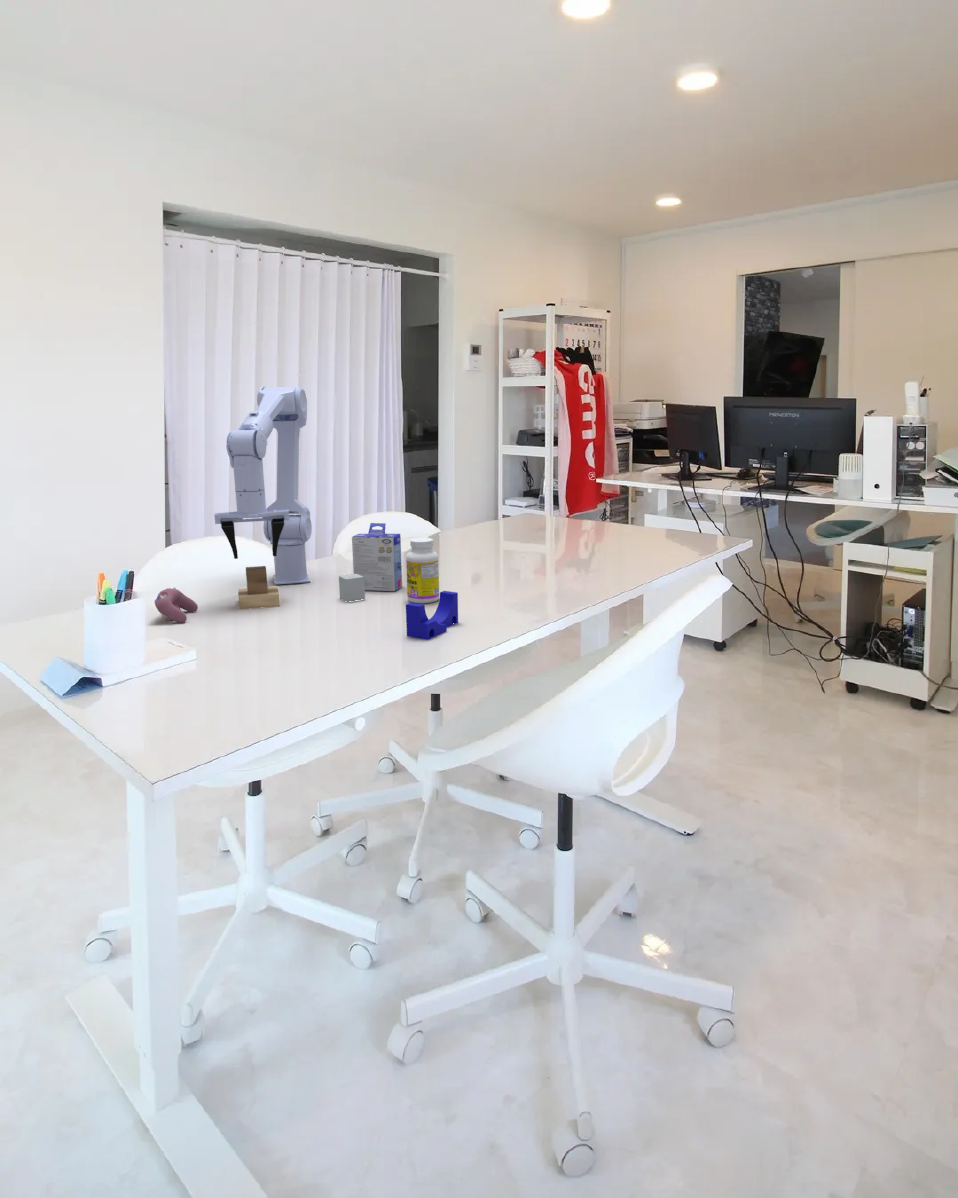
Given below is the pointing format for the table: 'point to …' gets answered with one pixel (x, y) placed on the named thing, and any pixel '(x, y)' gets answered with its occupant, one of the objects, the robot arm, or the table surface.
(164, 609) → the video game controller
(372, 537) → the ink cartridge box
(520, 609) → the table surface
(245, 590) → the oak slab
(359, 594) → the grey block
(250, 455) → the robot arm
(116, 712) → the table surface
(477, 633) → the table surface
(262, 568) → the walnut block
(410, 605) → the blue cradle holder
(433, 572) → the supplement bottle
